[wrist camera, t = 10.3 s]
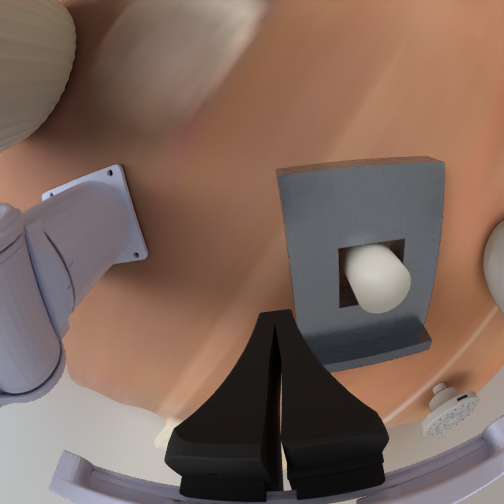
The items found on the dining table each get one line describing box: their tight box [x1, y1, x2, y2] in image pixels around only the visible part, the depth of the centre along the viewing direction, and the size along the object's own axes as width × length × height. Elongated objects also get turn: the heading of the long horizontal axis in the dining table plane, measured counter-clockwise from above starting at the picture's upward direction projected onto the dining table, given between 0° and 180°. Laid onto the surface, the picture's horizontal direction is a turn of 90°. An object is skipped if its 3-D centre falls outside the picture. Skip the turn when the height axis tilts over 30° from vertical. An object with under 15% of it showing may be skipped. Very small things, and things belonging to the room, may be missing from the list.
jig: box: [276, 156, 444, 373], centre depth 19 cm, size 12×16×4 cm
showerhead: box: [421, 383, 479, 438], centre depth 27 cm, size 9×7×10 cm
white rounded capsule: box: [340, 242, 411, 313], centre depth 19 cm, size 4×4×5 cm
